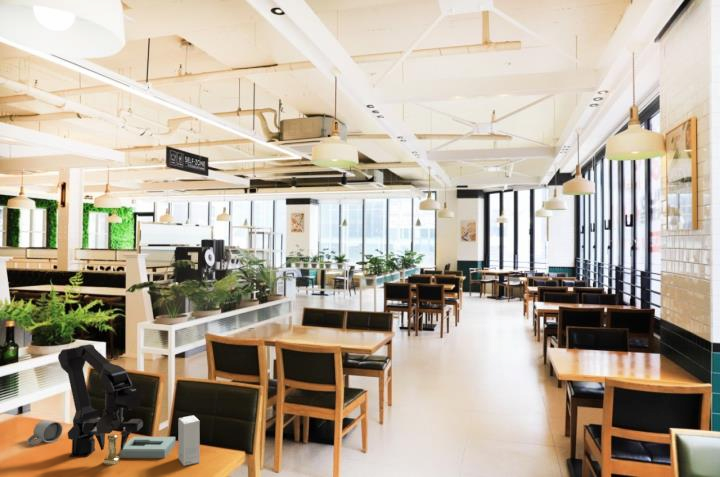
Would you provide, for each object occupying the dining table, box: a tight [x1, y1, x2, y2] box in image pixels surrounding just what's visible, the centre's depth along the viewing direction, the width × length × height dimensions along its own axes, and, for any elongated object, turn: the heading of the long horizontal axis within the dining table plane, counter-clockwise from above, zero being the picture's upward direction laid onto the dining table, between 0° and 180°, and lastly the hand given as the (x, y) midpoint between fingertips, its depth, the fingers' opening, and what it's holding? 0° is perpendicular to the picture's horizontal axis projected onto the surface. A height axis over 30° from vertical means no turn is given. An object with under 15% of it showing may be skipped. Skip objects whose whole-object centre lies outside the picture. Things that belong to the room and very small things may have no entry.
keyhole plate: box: [119, 436, 176, 459], centre depth 184 cm, size 16×12×3 cm
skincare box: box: [177, 415, 201, 467], centre depth 177 cm, size 8×6×15 cm
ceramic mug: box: [26, 419, 64, 446], centre depth 191 cm, size 11×8×8 cm
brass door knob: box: [103, 433, 120, 467], centre depth 174 cm, size 5×5×9 cm
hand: (112, 449), depth 174 cm, fingers open, 6 cm apart
